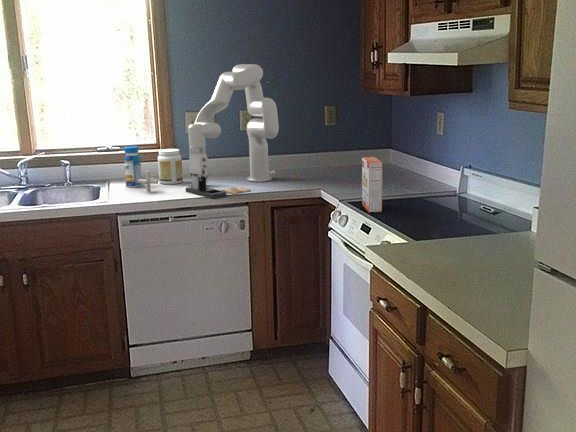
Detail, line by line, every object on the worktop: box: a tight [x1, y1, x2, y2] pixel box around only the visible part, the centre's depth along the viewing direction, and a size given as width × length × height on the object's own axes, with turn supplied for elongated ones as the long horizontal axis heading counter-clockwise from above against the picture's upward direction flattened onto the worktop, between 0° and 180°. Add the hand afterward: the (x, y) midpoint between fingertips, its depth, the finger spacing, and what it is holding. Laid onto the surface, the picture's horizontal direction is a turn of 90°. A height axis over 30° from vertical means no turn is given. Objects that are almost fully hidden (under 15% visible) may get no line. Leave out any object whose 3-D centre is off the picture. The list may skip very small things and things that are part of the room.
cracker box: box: [361, 156, 383, 214], centre depth 270 cm, size 14×6×21 cm, turn 5°
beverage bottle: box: [123, 145, 143, 188], centre depth 328 cm, size 8×8×20 cm
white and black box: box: [191, 175, 208, 190], centre depth 311 cm, size 5×5×8 cm
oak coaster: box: [220, 186, 252, 195], centre depth 314 cm, size 10×10×1 cm
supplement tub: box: [157, 148, 184, 185], centre depth 336 cm, size 12×12×17 cm
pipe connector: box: [138, 170, 159, 193], centre depth 315 cm, size 10×10×10 cm
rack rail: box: [185, 186, 227, 199], centre depth 308 cm, size 8×22×2 cm, turn 42°
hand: (199, 187), depth 311 cm, fingers closed on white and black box, 5 cm apart
